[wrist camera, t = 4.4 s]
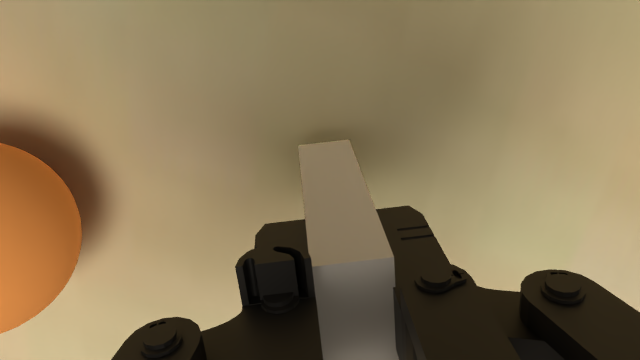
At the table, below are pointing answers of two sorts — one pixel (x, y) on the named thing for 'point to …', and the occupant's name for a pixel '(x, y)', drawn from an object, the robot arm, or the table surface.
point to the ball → (33, 236)
